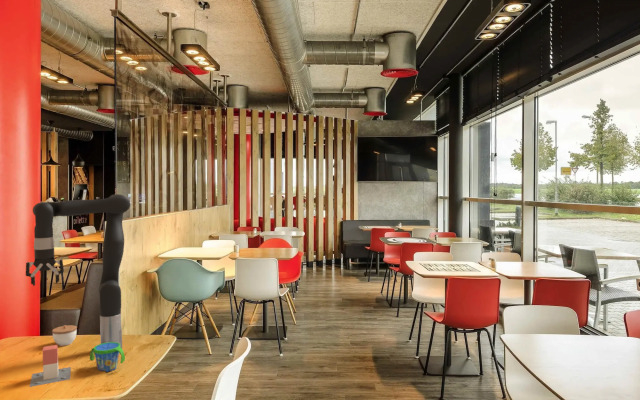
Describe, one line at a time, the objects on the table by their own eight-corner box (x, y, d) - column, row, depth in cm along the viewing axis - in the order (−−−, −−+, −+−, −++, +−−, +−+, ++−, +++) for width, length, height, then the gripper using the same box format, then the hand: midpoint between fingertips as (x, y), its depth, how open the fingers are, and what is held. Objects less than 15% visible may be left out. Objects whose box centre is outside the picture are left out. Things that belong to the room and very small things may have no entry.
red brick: (57, 358, 188) (57, 344, 188) (57, 362, 184) (56, 348, 183) (43, 361, 186) (43, 346, 185) (43, 365, 181) (42, 350, 181)
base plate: (70, 369, 194) (70, 366, 194) (70, 381, 182) (70, 378, 182) (32, 376, 188) (32, 373, 188) (29, 389, 175) (29, 386, 175)
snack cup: (131, 366, 196) (130, 343, 196) (113, 376, 186) (112, 352, 186) (102, 362, 201) (101, 340, 201) (83, 372, 191) (82, 348, 191)
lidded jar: (59, 349, 219) (59, 330, 218) (48, 344, 225) (47, 326, 224) (81, 342, 228) (80, 324, 227) (70, 338, 234) (69, 320, 233)
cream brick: (58, 372, 188) (57, 358, 188) (57, 377, 184) (57, 362, 183) (44, 375, 186) (43, 361, 185) (43, 380, 181) (43, 365, 181)
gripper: (63, 245, 204) (64, 280, 205) (25, 247, 198) (27, 284, 198) (62, 247, 198) (63, 283, 198) (24, 250, 191) (25, 287, 192)
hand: (45, 284), depth 198 cm, fingers open, 8 cm apart
